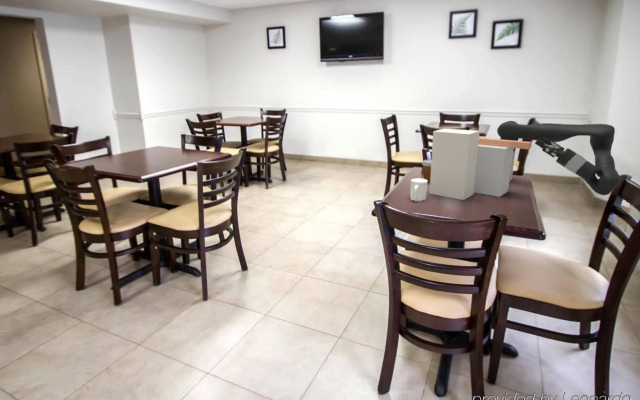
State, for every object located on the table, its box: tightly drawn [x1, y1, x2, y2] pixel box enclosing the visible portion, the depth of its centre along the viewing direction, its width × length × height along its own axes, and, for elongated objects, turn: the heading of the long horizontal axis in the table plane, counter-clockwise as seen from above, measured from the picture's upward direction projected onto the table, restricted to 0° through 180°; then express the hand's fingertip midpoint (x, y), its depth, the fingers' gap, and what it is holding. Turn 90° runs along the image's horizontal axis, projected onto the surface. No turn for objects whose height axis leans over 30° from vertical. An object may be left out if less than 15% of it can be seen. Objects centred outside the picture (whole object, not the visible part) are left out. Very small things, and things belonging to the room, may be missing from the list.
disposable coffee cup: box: [421, 159, 432, 184], centre depth 218 cm, size 10×10×12 cm
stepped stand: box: [429, 128, 513, 201], centre depth 193 cm, size 28×30×32 cm
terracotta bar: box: [478, 137, 532, 150], centre depth 189 cm, size 3×27×3 cm, turn 46°
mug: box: [409, 177, 428, 202], centre depth 188 cm, size 12×9×8 cm
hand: (539, 140), depth 177 cm, fingers open, 8 cm apart
